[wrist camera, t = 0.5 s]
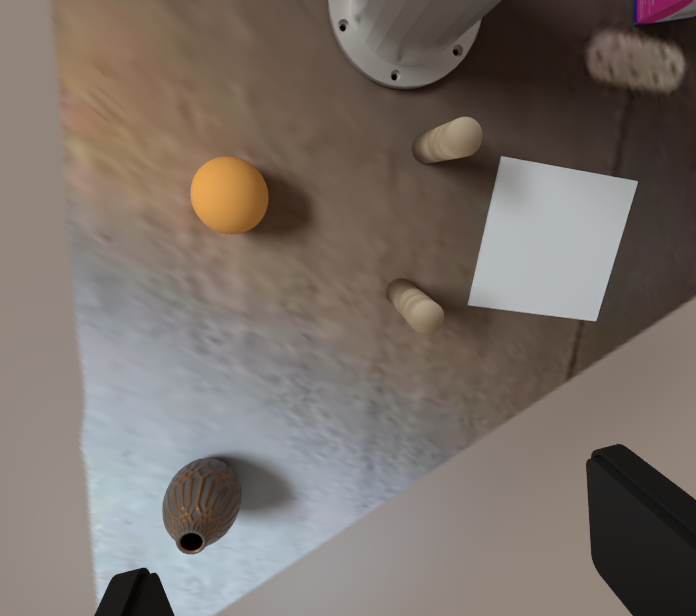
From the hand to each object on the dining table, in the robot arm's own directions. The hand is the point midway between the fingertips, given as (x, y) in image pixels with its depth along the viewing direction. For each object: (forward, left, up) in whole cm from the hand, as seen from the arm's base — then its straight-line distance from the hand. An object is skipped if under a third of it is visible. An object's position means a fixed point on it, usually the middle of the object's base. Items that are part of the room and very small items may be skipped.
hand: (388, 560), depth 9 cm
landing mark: (-6, +22, -33) cm, 40 cm away
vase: (+22, -8, -33) cm, 41 cm away
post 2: (-12, +8, -33) cm, 36 cm away
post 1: (+1, +8, -33) cm, 34 cm away
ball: (-6, -8, -30) cm, 31 cm away
